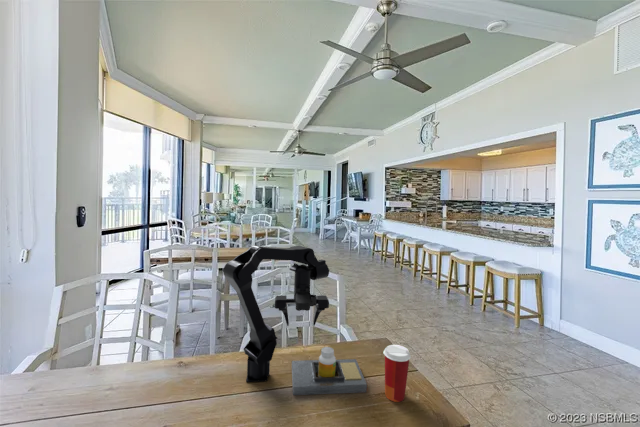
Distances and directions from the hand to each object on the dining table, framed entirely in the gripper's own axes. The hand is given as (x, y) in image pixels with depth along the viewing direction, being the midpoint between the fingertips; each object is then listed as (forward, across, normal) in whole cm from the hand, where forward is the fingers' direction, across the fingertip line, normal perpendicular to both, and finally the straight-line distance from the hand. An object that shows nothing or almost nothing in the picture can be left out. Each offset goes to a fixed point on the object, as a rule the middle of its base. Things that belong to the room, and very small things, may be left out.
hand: (300, 325), depth 109 cm
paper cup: (+12, +27, -22) cm, 37 cm away
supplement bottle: (+12, +8, -13) cm, 19 cm away
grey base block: (+12, +8, -13) cm, 19 cm away
